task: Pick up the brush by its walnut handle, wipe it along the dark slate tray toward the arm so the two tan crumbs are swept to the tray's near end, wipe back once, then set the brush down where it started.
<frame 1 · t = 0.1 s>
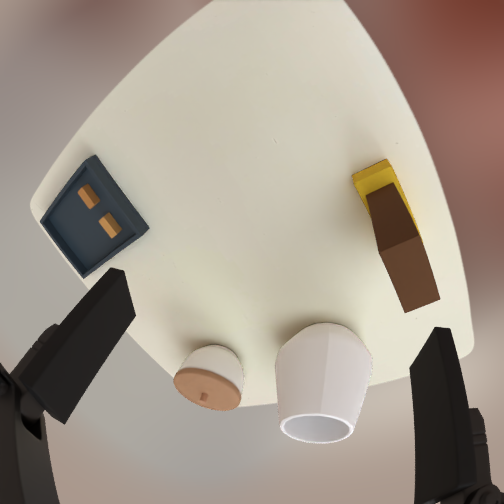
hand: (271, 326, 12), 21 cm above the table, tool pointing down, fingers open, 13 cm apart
white vase: (326, 343, 42), on the table
crumb b: (91, 194, 37), point 1 cm above the table, touching tray
crumb a: (113, 222, 38), point 1 cm above the table, touching tray
tray: (90, 220, 40), on the table
brush: (387, 204, 29), on the table
trinket box: (220, 355, 49), on the table
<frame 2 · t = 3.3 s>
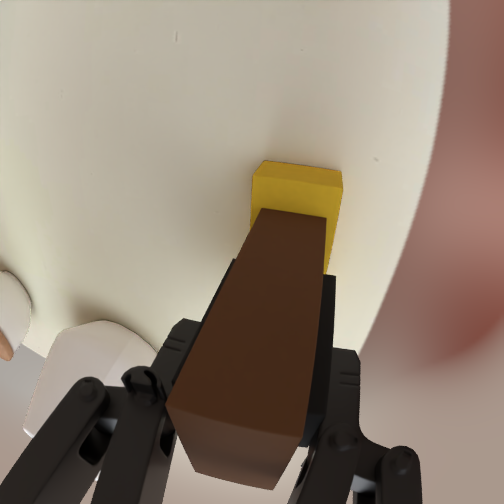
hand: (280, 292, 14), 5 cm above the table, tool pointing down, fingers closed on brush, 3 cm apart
white vase: (126, 350, 29), on the table
brush: (293, 241, 17), on the table, touching gripper
trinket box: (17, 289, 30), on the table
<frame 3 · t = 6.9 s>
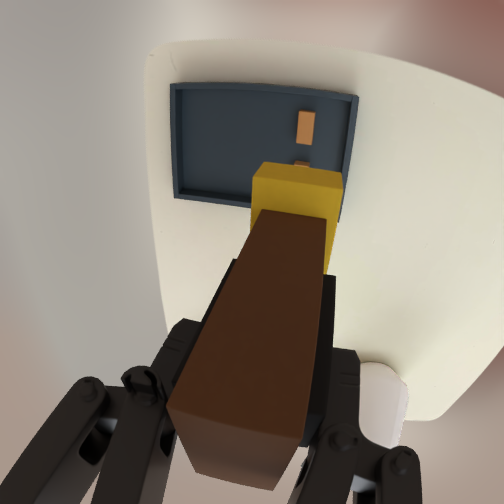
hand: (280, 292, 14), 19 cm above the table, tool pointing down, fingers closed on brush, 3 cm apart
white vase: (367, 378, 44), on the table
crumb b: (306, 125, 26), point 1 cm above the table, touching tray
crumb a: (301, 175, 29), point 1 cm above the table, touching tray
tray: (260, 144, 29), on the table
brush: (293, 241, 17), point 14 cm above the table, touching gripper
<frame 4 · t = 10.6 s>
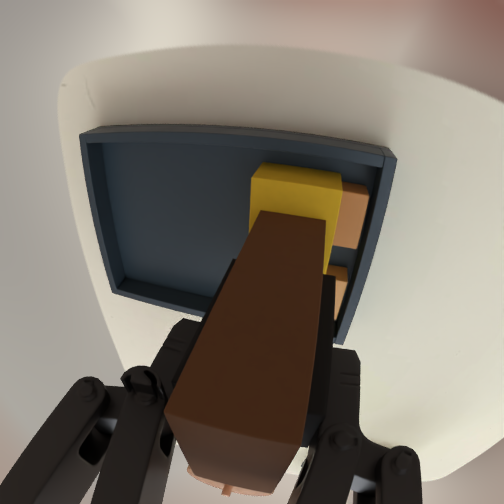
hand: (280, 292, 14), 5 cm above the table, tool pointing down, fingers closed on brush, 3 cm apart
crumb b: (348, 209, 15), point 1 cm above the table, touching brush, tray
crumb a: (331, 285, 18), point 1 cm above the table, touching brush, tray
tray: (224, 225, 19), on the table
brush: (292, 242, 17), point 1 cm above the table, touching crumb a, crumb b, gripper, tray
trinket box: (245, 432, 35), on the table
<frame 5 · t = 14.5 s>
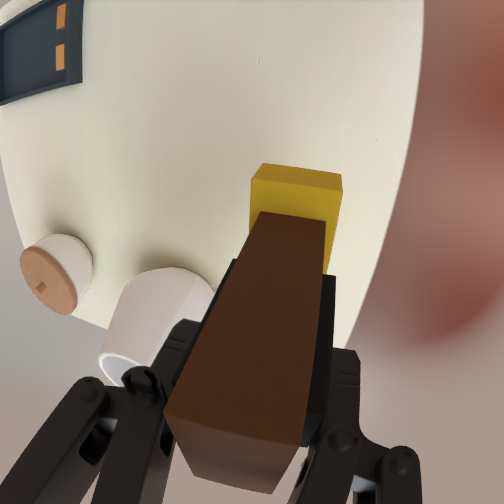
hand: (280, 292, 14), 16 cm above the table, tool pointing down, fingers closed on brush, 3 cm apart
white vase: (184, 295, 39), on the table
crumb b: (69, 16, 21), point 1 cm above the table, touching tray
crumb a: (68, 56, 23), point 1 cm above the table, touching tray
tray: (36, 50, 24), on the table
brush: (292, 243, 17), point 11 cm above the table, touching gripper
trinket box: (78, 252, 40), on the table
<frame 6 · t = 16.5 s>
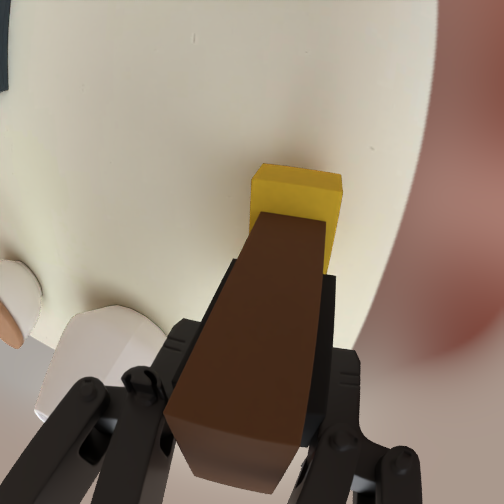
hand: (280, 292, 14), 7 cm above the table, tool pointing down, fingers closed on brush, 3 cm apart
white vase: (136, 335, 31), on the table
brush: (292, 244, 17), point 2 cm above the table, touching gripper
trinket box: (28, 278, 32), on the table
when the fingers open (4 cm above the table, at t = 17.3 s): brush stays where it is, on the table.
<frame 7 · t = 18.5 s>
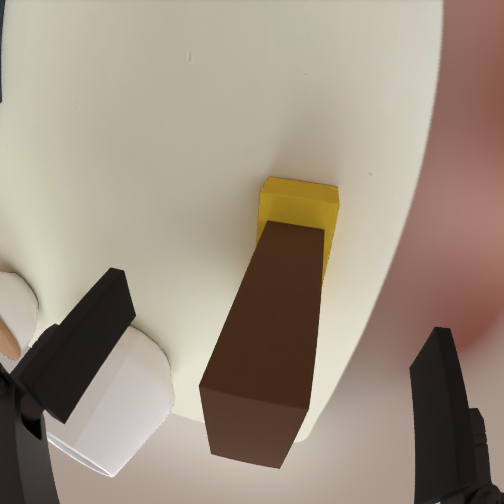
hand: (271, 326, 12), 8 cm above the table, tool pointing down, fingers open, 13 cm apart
white vase: (132, 349, 31), on the table
brush: (294, 248, 19), on the table
trinket box: (24, 290, 32), on the table
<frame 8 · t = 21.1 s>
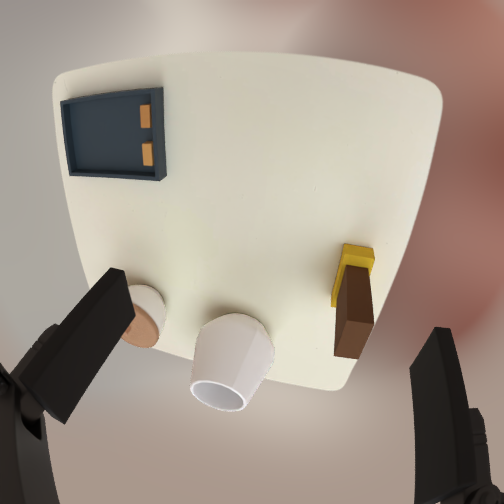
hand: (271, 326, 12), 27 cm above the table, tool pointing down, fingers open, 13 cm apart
white vase: (241, 331, 53), on the table
crumb b: (150, 114, 35), point 1 cm above the table, touching tray
crumb a: (152, 151, 37), point 1 cm above the table, touching tray
tray: (113, 133, 38), on the table
brush: (351, 273, 41), on the table
trinket box: (149, 297, 54), on the table
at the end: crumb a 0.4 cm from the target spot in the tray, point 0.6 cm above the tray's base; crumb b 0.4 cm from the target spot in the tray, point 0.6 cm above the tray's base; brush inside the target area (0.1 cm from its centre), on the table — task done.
